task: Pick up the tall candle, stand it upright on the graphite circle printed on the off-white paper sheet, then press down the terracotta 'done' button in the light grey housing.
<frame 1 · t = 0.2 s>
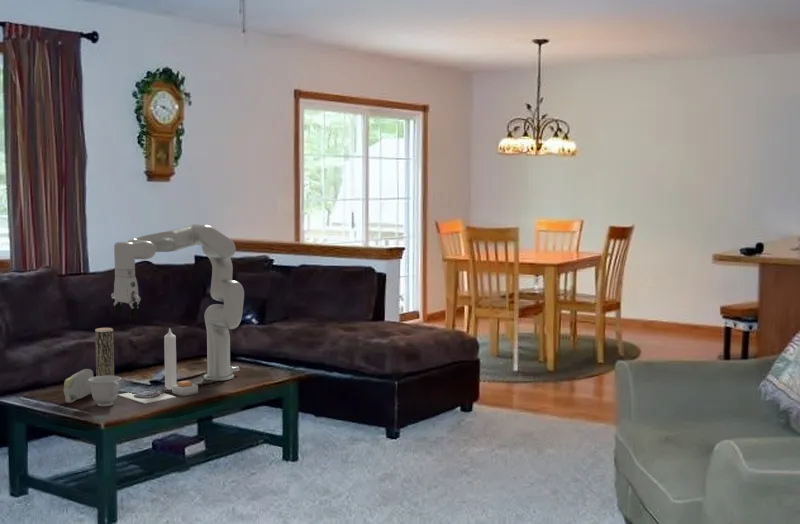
hand: (126, 317, 383), 31 cm above the table, fingers open, 9 cm apart
paper sheet: (146, 396, 384), on the table
button housing: (185, 392, 390), on the table
teacup: (107, 405, 370), on the table
done button: (185, 384, 390), point 3 cm above the table, slide at 0.0 cm
candle: (170, 389, 397), on the table
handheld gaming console: (79, 399, 380), on the table
wooden log: (105, 391, 393), on the table
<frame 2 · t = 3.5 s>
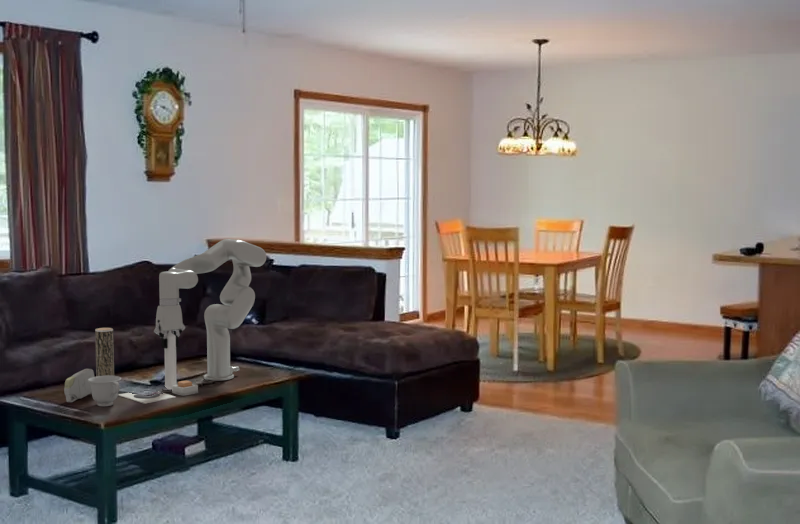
hand: (170, 346, 395), 17 cm above the table, fingers closed on candle, 4 cm apart
candle: (170, 389, 397), on the table, touching gripper
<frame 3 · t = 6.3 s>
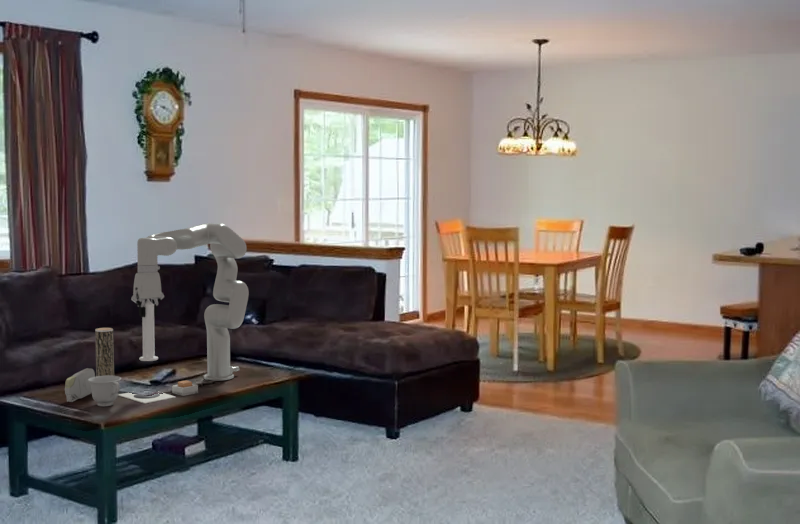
hand: (148, 315, 382), 32 cm above the table, fingers closed on candle, 4 cm apart
candle: (148, 360, 384), point 14 cm above the table, touching gripper
when the fingers open (19 cm above the table, at t = 9.2 s): candle stays where it is, resting on paper sheet.
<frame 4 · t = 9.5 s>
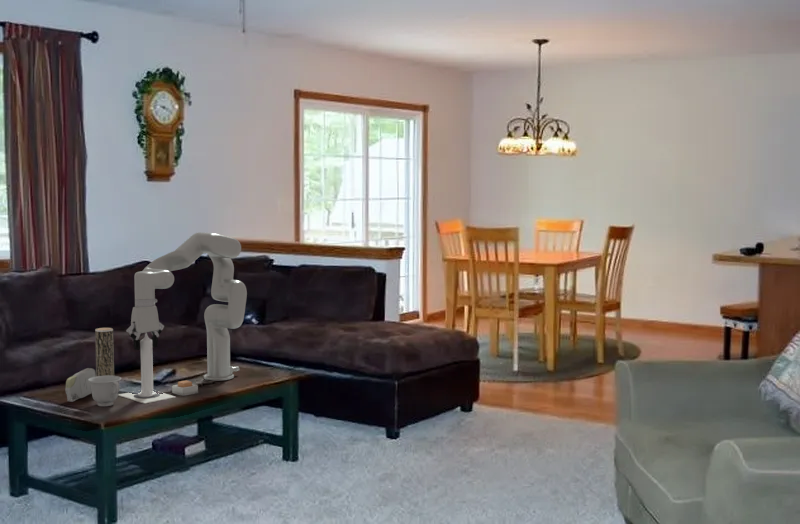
hand: (145, 347, 382), 19 cm above the table, fingers open, 7 cm apart
candle: (147, 395, 384), resting on paper sheet
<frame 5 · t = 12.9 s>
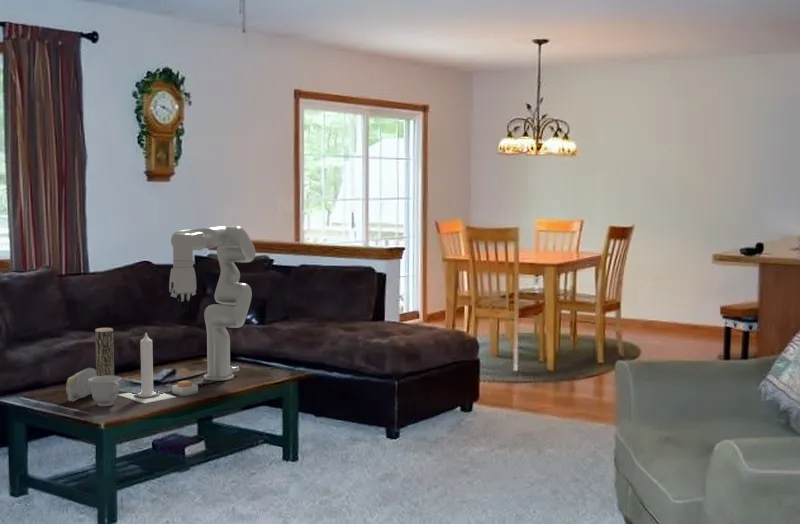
hand: (183, 310, 387), 33 cm above the table, fingers closed
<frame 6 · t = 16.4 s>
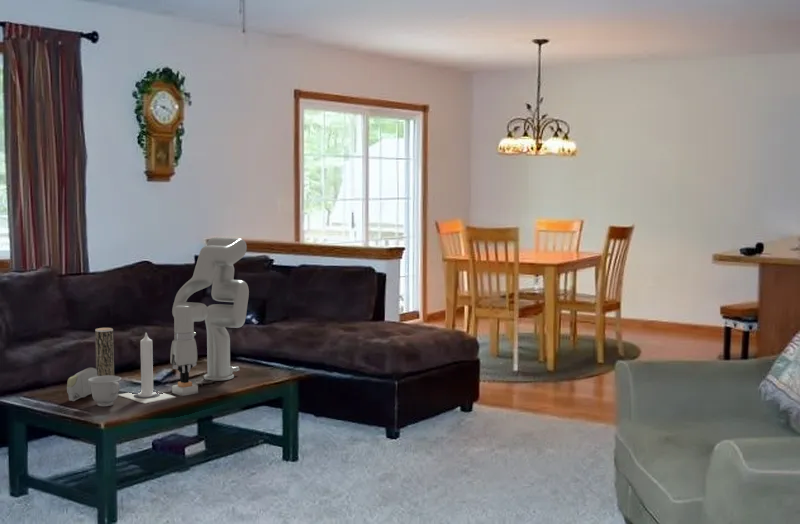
hand: (184, 381, 389), 5 cm above the table, fingers closed
done button: (185, 384, 390), point 3 cm above the table, slide at 0.0 cm, touching gripper
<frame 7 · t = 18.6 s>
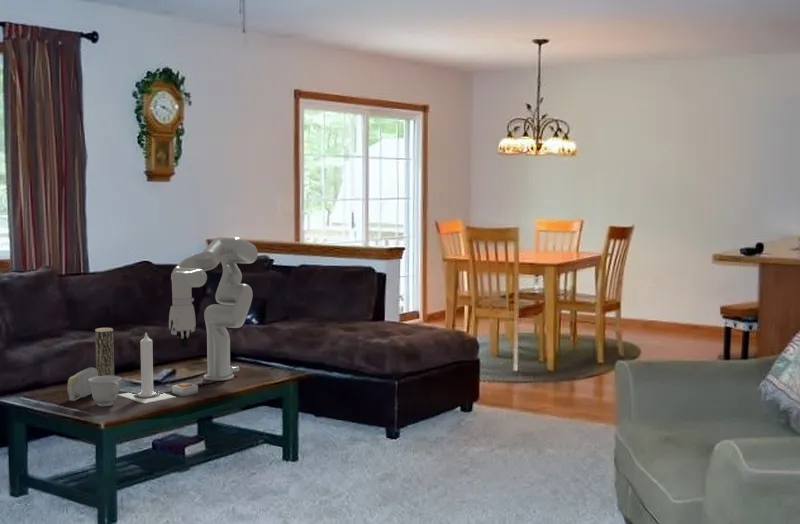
hand: (183, 347, 390), 18 cm above the table, fingers closed
done button: (185, 386, 390), point 3 cm above the table, slide at 0.9 cm
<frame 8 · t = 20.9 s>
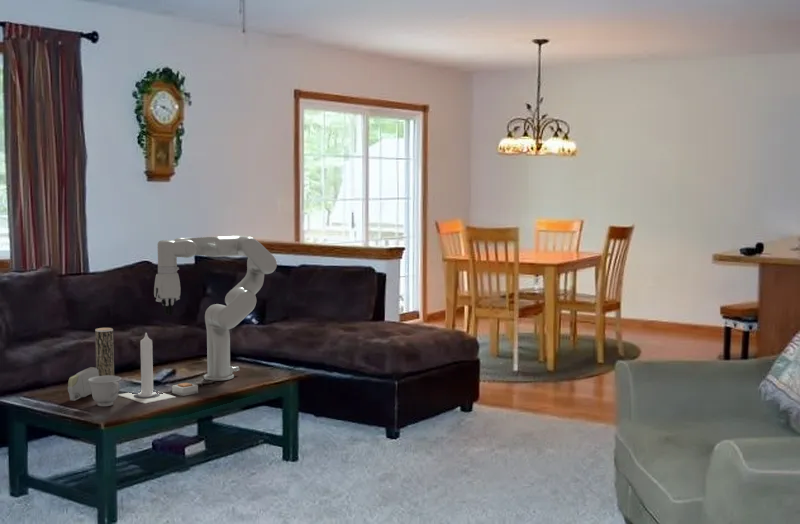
hand: (168, 314, 402), 29 cm above the table, fingers closed
at the end: candle inside the target area on the paper sheet (0.3 cm from its centre), point 0.3 cm above the paper sheet's base; candle tilted 0°; done button slide at 0.9 cm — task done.
